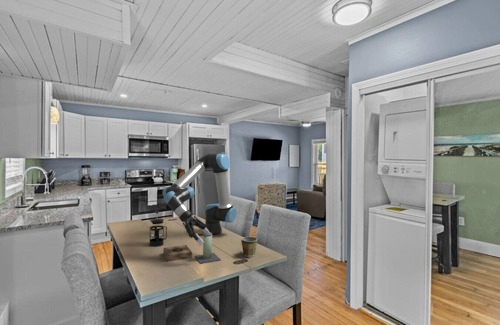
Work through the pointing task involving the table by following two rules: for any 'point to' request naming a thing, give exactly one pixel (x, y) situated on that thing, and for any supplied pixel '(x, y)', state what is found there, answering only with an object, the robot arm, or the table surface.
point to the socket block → (177, 253)
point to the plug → (207, 245)
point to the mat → (202, 260)
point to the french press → (157, 233)
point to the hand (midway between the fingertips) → (206, 240)
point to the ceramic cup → (249, 246)
